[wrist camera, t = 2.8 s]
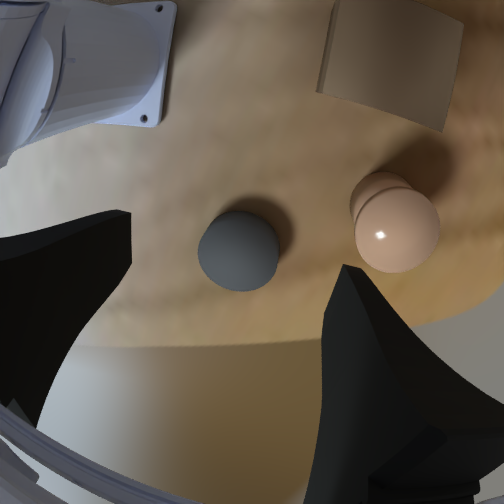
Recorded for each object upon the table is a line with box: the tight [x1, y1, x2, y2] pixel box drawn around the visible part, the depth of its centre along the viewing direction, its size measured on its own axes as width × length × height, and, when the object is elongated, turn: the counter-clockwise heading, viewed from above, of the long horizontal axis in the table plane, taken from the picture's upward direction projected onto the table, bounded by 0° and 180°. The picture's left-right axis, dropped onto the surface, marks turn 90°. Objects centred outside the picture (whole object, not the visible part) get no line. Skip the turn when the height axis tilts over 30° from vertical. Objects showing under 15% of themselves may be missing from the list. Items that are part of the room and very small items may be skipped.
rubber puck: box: [198, 211, 280, 291], centre depth 20 cm, size 5×5×2 cm
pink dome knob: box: [350, 172, 440, 273], centre depth 16 cm, size 5×5×4 cm
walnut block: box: [316, 0, 464, 132], centre depth 11 cm, size 5×5×6 cm
